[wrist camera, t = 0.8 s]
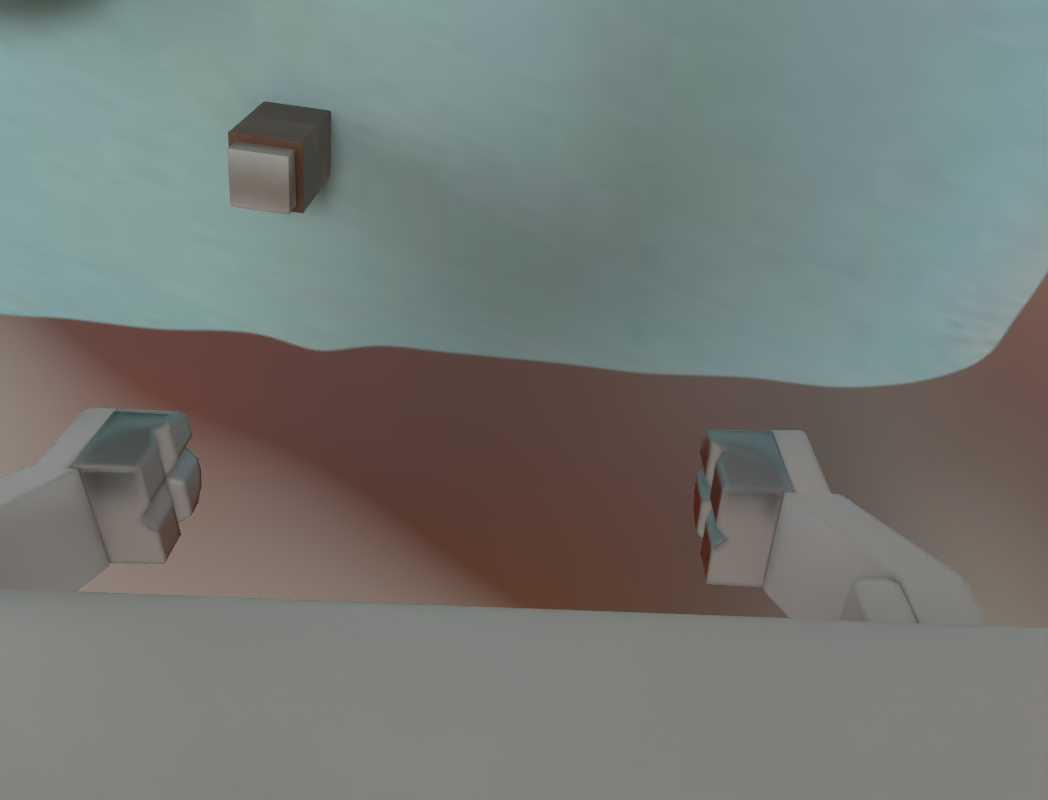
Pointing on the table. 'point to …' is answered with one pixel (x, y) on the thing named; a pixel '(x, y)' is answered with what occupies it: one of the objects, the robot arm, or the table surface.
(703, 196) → the table surface
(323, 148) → the brown and white block
